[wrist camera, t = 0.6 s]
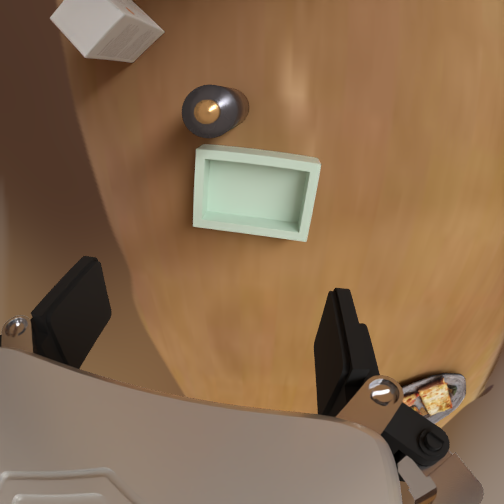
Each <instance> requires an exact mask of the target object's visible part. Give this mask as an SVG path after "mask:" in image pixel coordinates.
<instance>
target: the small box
mask: <svg viewBox="0 0 504 504" xmlns="http://www.w3.org/2000/svg"><path fill="white" fill-rule="evenodd" d="M50 19H51V21H52V22H53V23H54V24H55V25H56V26H57V27H58V29H59V30H60V31H61V32H62V33H63V34H64V35H65V36H66V37H67V39H68V40H69V41H70V42H71V43H72V44H73V45H74V46H75V47H76V49H77V50H78V51H79V52H80V53H81V54H82V55H83V56H84V58H92V59H104V60H114V61H122V62H130V63H133V62H134V61H135V60H136V59H137V58H138V57H139V56H140V55H141V54H142V53H143V52H144V51H145V50H146V49H147V48H148V47H149V46H151V45H152V44H153V43H154V42H155V41H156V40H157V39H158V38H159V37H160V36H161V35H162V34H164V30H162V29H161V28H160V27H159V26H158V25H157V24H156V23H155V22H154V21H153V20H152V19H151V18H150V17H149V16H148V15H147V14H146V13H145V12H144V11H143V10H142V9H140V8H139V7H138V6H137V5H136V4H135V3H134V2H133V1H132V0H64V1H63V2H62V3H61V5H60V6H59V7H58V8H57V10H56V11H55V12H54V13H53V15H52V16H51V17H50Z"/></svg>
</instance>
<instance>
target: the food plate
mask: <svg viewBox="0 0 504 504" xmlns="http://www.w3.org/2000/svg"><path fill="white" fill-rule="evenodd" d="M464 379H465V378H464V376H463V375H461V374H455V373H454V374H453V373H442V374H439V375H432V376H429V377H427V378H425V379H422V380H419V381H416V382H414V383H412V384H409V385H405V386H403V387H402V390H403V392H404V398H403V401H402V402H403V403H405V404H406V405H408V406H409V407H410V408H412V409H413V410H415V411H416V412H418V413H419V414H420V415H421V413H420V408H421V407H422V406H423V408H424V409H425V410H426V411H427V413H429V414H427V415H425V416H423V417H425V418H426V419H428V420H429V421H431V422H432V423H437V422H438V421H440V420H441V419H443V418H444V417H446V416H447V415H449V414H450V413H451V412H453V411H454V410H455V409H456V408H457V407H458V406H459V405H460V403H461V402H462V400H463V399H464V397H465V394H466V382H465V380H464ZM418 407H419V408H418Z"/></svg>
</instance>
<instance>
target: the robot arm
mask: <svg viewBox="0 0 504 504" xmlns="http://www.w3.org/2000/svg"><path fill="white" fill-rule="evenodd" d="M31 314H32V317H33V318H32V319H31V320H30V319H29V318H28V317H26V316H23V315H19V316H15V317H13V318H11V319H9V320H8V321H7V322H6V323H5V324H4V326H3V328H2V335H0V504H402V497H401V488H400V482H399V480H400V481H404V482H406V483H407V484H408V486H409V487H410V489H408V490H409V492H410V493H411V494H412V495H413V498H414V500H415V504H480V503H481V501H482V499H483V495H484V493H483V487H482V485H481V483H480V482H479V481H478V480H477V478H476V477H475V476H474V475H473V474H472V472H471V471H470V470H469V469H468V467H467V466H466V465H465V464H464V463H463V461H462V460H461V459H460V458H459V457H458V455H457V454H456V453H454V454H453V455H452V453H451V452H450V451H449V439H448V436H447V435H446V433H445V432H444V431H443V430H442V429H441V428H439V427H438V426H437V425H435V424H434V423H432V422H431V421H429V420H428V419H426V418H425V417H423V416H422V415H420V414H419V413H418V412H416V411H415V410H413V409H412V408H410V407H409V406H408V405H406V404H405V403H403V402H402V401H403V398H404V392H403V390H402V387H401V386H400V385H399V383H398V382H397V381H395V380H394V379H392V378H390V377H388V376H383V375H380V374H379V370H378V366H377V362H376V358H375V354H374V351H373V347H372V343H371V339H370V336H369V332H368V328H367V326H366V325H365V324H360V323H359V321H358V318H357V314H356V310H355V306H354V303H353V299H352V296H351V292H350V290H349V289H342V288H335V289H334V291H329V293H328V297H327V300H326V304H325V307H324V311H323V314H322V318H321V321H320V325H319V328H318V332H317V335H316V338H315V342H314V357H315V371H316V387H317V405H318V414H310V413H301V412H290V411H280V410H270V409H261V408H253V407H245V406H238V405H230V404H224V403H217V402H211V401H205V400H200V399H194V398H189V397H184V396H178V395H173V394H169V393H165V392H160V391H156V390H151V389H147V388H143V387H139V386H135V385H131V384H127V383H124V382H120V381H116V380H113V379H109V378H106V377H102V376H99V375H96V374H93V373H90V372H86V371H83V370H80V369H79V368H80V366H81V365H82V363H83V361H84V360H85V358H86V356H87V355H88V353H89V351H90V350H91V348H92V346H93V345H94V343H95V342H96V340H97V338H98V337H99V335H100V334H101V332H102V330H103V329H104V327H105V326H106V324H107V323H108V321H109V319H110V317H111V307H110V303H109V299H108V295H107V291H106V286H105V282H104V277H103V272H102V267H101V263H100V262H98V260H97V258H95V257H89V256H83V257H82V258H81V259H80V260H79V261H78V262H77V263H76V264H75V265H74V266H73V267H72V268H71V269H70V270H69V271H68V272H67V274H66V275H65V276H64V277H63V278H62V279H61V280H60V281H59V282H58V283H57V284H56V286H54V288H53V289H51V291H50V292H49V293H48V294H47V295H46V296H45V297H44V298H43V299H42V301H41V302H40V303H39V304H38V305H37V306H36V307H35V309H34V310H33V311H32V312H31Z"/></svg>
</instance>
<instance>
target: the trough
mask: <svg viewBox="0 0 504 504" xmlns="http://www.w3.org/2000/svg"><path fill="white" fill-rule="evenodd" d="M320 168H321V163H320V162H319V160H318V158H315V157H309V156H303V155H296V154H290V153H283V152H275V151H268V150H260V149H252V148H243V147H233V146H223V145H211V144H203V145H202V146H200V147H198V148H197V149H196V160H195V180H194V205H193V227H200V228H208V229H216V230H223V231H231V232H238V233H246V234H253V235H261V236H268V237H275V238H282V239H290V240H297V241H304V242H306V241H307V236H308V231H309V226H310V221H311V216H312V211H313V206H314V201H315V196H316V190H317V185H318V179H319V174H320Z"/></svg>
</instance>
